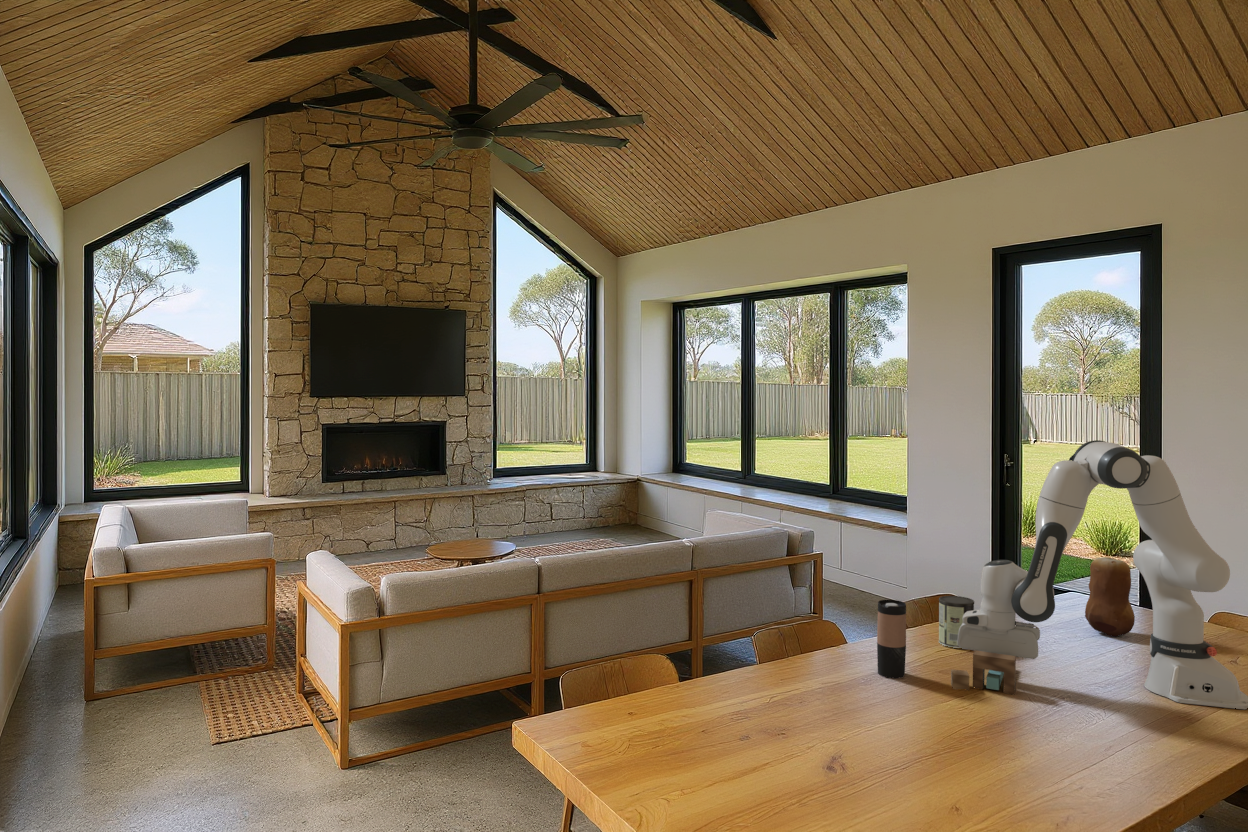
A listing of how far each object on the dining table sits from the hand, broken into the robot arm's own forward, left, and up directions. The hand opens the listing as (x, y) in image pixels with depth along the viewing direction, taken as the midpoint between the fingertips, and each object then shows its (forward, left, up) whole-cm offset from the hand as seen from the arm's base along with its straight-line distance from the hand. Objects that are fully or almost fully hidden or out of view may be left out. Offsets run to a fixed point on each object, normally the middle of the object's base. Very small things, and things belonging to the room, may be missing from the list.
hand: (996, 669), depth 222 cm
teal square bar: (0, 0, -2) cm, 2 cm away
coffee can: (+14, -27, -3) cm, 31 cm away
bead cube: (+8, +12, -3) cm, 15 cm away
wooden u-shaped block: (0, +9, -3) cm, 9 cm away
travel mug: (+26, +11, -3) cm, 28 cm away
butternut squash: (-28, -63, -3) cm, 69 cm away
